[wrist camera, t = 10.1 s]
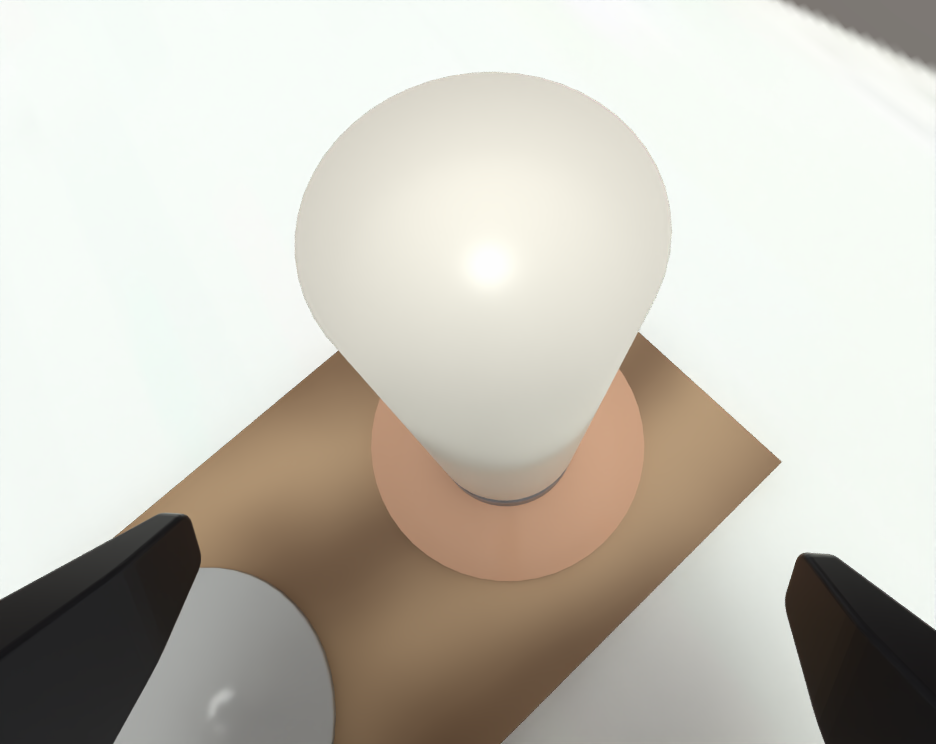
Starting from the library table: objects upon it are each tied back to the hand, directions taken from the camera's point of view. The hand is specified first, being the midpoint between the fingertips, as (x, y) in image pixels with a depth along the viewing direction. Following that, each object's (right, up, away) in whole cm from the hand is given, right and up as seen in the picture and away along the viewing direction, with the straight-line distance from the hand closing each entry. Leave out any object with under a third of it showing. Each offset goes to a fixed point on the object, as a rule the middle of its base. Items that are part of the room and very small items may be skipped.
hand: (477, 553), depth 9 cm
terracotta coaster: (+1, 0, +11) cm, 11 cm away
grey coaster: (-9, -8, +9) cm, 15 cm away
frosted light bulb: (+1, +1, +11) cm, 11 cm away
